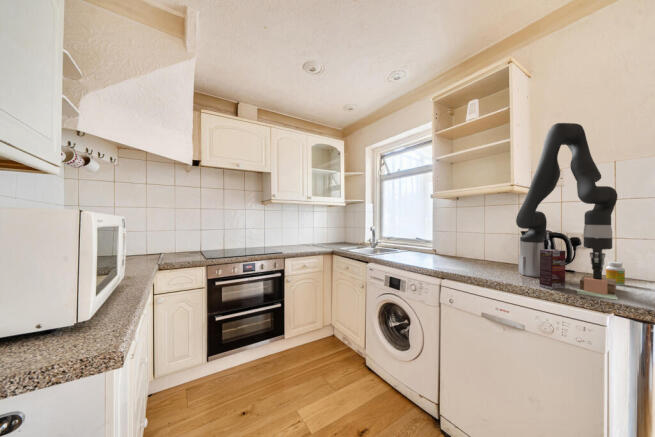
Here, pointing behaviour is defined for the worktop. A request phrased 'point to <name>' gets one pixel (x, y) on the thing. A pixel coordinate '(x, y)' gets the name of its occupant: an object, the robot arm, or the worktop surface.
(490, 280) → the worktop surface
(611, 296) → the mat
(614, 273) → the supplement bottle
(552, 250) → the supplement box
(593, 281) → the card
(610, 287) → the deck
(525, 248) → the robot arm
